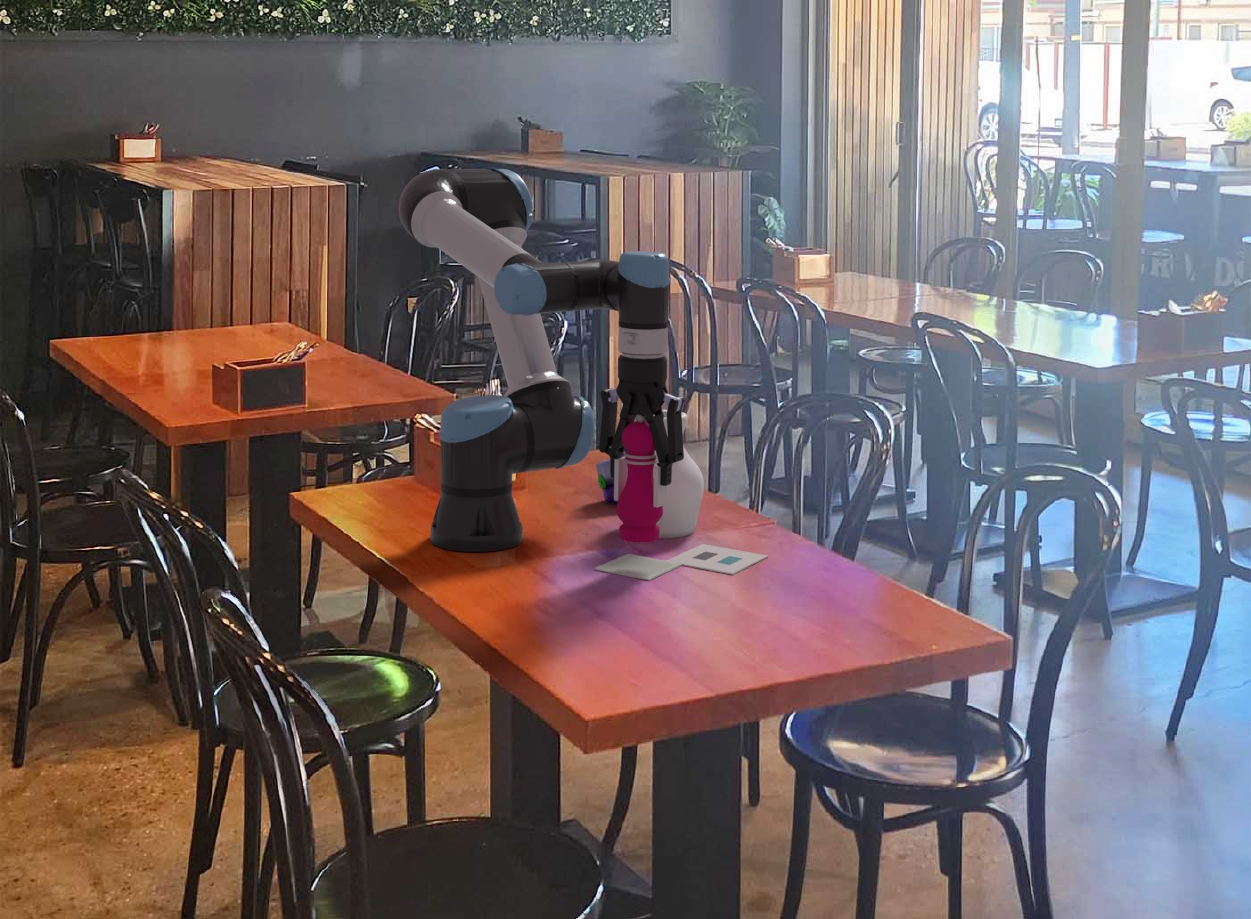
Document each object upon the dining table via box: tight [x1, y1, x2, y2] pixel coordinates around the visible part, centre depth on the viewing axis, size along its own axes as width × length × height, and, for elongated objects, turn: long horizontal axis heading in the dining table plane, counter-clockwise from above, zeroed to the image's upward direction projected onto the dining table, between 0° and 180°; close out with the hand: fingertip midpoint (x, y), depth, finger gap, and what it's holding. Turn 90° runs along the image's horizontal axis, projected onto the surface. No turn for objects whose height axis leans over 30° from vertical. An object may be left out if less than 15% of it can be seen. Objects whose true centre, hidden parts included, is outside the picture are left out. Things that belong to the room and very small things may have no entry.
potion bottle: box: [595, 448, 627, 506], centre depth 291 cm, size 9×9×12 cm
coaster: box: [593, 553, 683, 582], centre depth 252 cm, size 10×10×1 cm
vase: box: [653, 409, 705, 539], centre depth 272 cm, size 14×14×20 cm
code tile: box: [665, 543, 769, 576], centre depth 257 cm, size 12×12×1 cm
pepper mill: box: [616, 414, 663, 544], centre depth 248 cm, size 7×7×20 cm
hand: (640, 501), depth 249 cm, fingers closed on pepper mill, 6 cm apart
